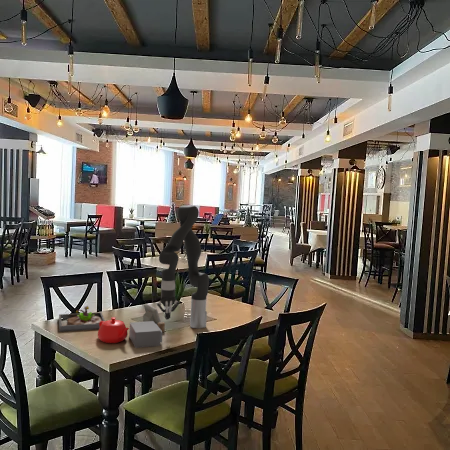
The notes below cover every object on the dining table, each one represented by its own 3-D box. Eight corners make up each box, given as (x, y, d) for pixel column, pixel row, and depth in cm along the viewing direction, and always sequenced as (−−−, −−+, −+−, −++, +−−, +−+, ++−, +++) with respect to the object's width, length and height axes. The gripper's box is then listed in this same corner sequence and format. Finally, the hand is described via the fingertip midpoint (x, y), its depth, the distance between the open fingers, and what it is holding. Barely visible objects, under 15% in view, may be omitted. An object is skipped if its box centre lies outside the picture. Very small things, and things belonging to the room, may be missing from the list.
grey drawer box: (156, 333, 235) (156, 323, 234) (162, 342, 221) (162, 331, 221) (132, 335, 230) (132, 325, 229) (137, 344, 216) (138, 333, 216)
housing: (152, 335, 236) (153, 321, 235) (160, 345, 219) (160, 330, 219) (129, 336, 231) (129, 322, 230) (135, 347, 214) (135, 332, 214)
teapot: (87, 338, 225) (87, 315, 224) (111, 332, 237) (112, 310, 237) (115, 350, 210) (116, 326, 209) (140, 343, 222) (141, 320, 221)
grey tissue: (161, 326, 253) (162, 308, 253) (146, 327, 250) (147, 309, 249) (155, 318, 268) (156, 302, 268) (141, 319, 265) (142, 303, 264)
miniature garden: (72, 330, 237) (73, 311, 237) (63, 321, 253) (64, 303, 253) (107, 326, 249) (107, 307, 248) (96, 317, 265) (97, 300, 264)
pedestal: (163, 330, 245) (163, 321, 245) (165, 332, 241) (165, 323, 241) (156, 330, 244) (157, 322, 243) (158, 332, 240) (158, 324, 240)
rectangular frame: (101, 316, 266) (101, 312, 266) (105, 328, 243) (106, 323, 243) (59, 319, 256) (59, 314, 256) (59, 331, 233) (59, 326, 233)
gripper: (157, 290, 222) (157, 322, 223) (181, 288, 227) (181, 320, 228) (154, 287, 229) (154, 318, 230) (178, 285, 234) (177, 316, 235)
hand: (167, 319), depth 229 cm, fingers closed
